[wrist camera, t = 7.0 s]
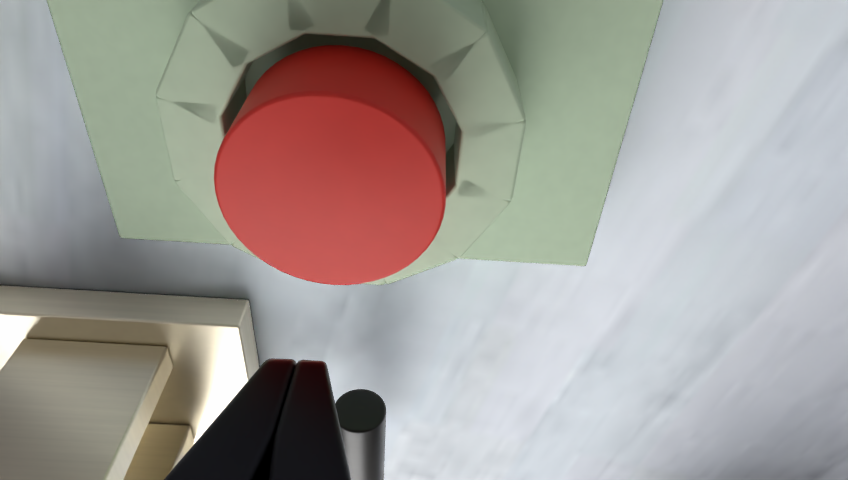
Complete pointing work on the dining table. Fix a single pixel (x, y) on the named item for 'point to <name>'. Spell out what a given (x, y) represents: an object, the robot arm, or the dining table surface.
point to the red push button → (334, 167)
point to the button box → (404, 44)
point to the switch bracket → (114, 379)
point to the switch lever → (363, 433)
